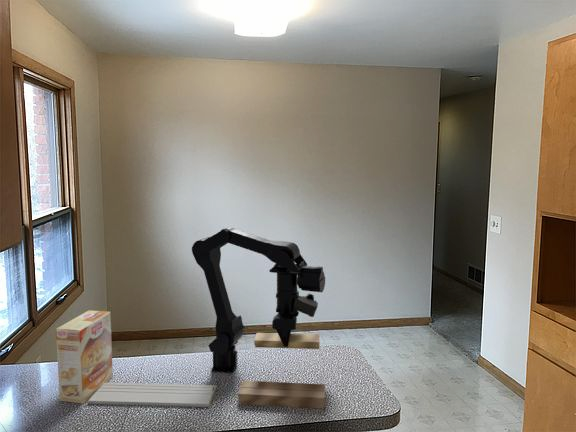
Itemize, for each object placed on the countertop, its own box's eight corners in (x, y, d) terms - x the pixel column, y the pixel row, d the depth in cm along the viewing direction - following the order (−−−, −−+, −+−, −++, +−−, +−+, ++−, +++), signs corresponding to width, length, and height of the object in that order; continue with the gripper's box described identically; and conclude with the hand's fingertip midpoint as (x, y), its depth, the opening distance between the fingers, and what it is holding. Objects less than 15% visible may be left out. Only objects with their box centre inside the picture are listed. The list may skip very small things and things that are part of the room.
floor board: (238, 404, 119) (238, 393, 119) (244, 387, 128) (244, 377, 127) (324, 408, 117) (324, 397, 117) (324, 391, 126) (325, 381, 125)
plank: (254, 349, 130) (254, 340, 129) (256, 342, 135) (256, 332, 135) (319, 351, 129) (319, 342, 128) (319, 343, 134) (319, 334, 134)
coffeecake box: (83, 404, 119) (79, 330, 116) (58, 401, 120) (53, 328, 117) (114, 376, 133) (111, 310, 131) (91, 374, 135) (88, 309, 132)
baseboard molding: (108, 383, 131) (88, 406, 119) (107, 373, 130) (87, 395, 119) (218, 385, 130) (209, 409, 118) (218, 376, 129) (209, 398, 117)
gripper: (315, 299, 120) (314, 357, 122) (316, 280, 138) (316, 330, 140) (272, 298, 121) (272, 356, 123) (279, 279, 139) (279, 329, 141)
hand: (286, 342), depth 132 cm, fingers closed on plank, 5 cm apart
